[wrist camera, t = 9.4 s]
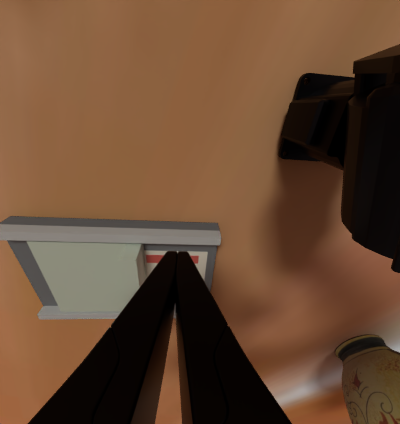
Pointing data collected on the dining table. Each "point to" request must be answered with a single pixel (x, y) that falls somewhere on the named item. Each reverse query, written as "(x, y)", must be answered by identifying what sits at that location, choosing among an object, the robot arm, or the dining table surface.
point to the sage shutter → (91, 273)
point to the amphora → (370, 380)
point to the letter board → (108, 233)
